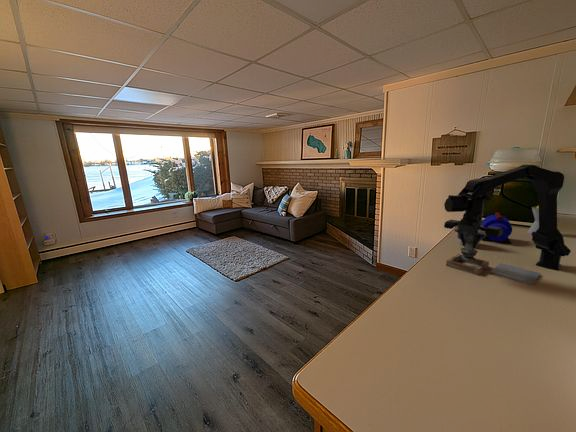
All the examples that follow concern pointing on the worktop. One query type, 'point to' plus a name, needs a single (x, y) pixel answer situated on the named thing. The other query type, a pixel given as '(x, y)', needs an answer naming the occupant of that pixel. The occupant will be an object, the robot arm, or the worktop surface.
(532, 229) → the lava lamp
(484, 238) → the alarm clock
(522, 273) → the slate coaster
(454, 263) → the walnut holder
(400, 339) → the worktop surface
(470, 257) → the salt shaker
